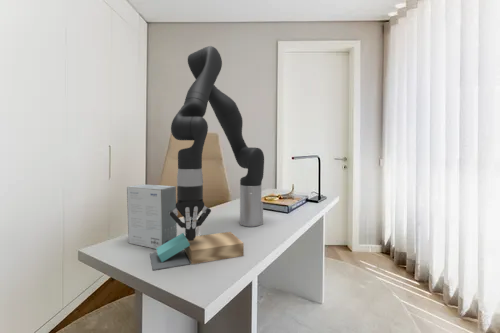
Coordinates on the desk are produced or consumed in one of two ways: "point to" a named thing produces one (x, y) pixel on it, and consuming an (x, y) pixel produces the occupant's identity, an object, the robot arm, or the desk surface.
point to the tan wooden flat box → (214, 247)
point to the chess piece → (197, 229)
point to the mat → (169, 261)
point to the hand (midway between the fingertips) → (190, 239)
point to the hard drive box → (151, 215)
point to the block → (172, 247)
